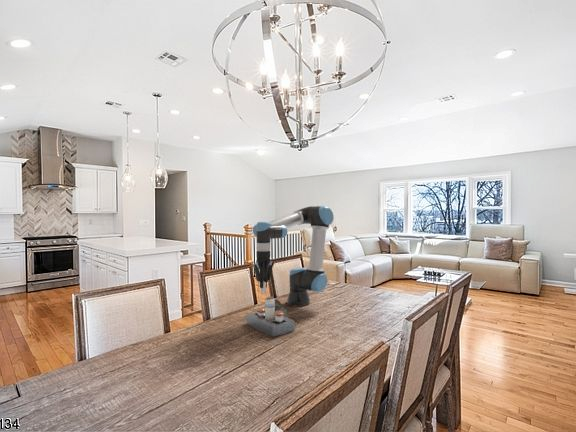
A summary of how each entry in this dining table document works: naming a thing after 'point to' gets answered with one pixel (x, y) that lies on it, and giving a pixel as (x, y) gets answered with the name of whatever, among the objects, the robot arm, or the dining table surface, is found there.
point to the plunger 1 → (261, 311)
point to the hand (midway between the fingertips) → (263, 293)
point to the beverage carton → (280, 307)
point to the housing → (270, 325)
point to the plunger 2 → (278, 317)
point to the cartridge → (269, 308)
